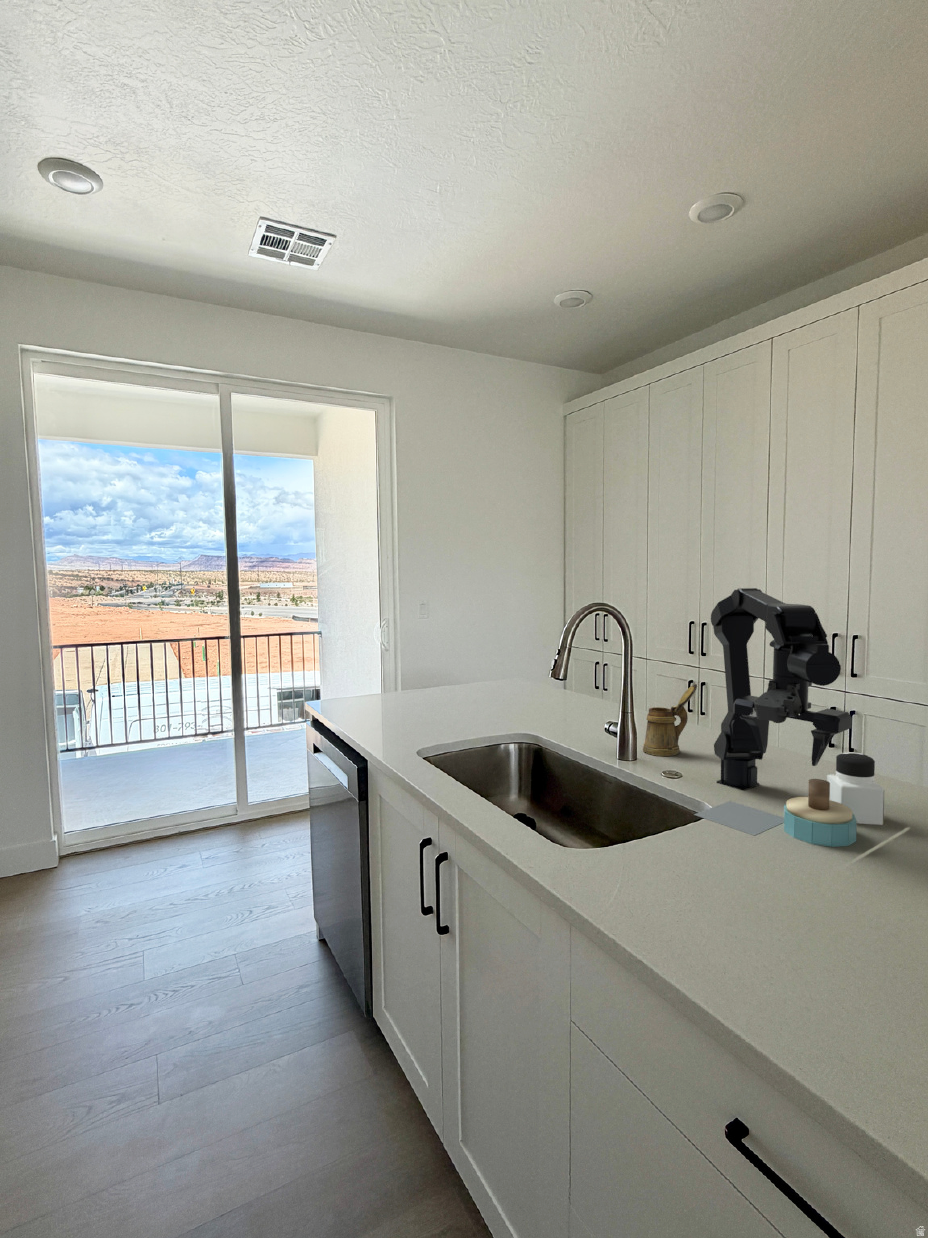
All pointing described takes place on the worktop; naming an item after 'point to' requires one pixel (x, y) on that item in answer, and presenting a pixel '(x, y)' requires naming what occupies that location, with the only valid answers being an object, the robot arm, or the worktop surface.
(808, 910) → the worktop surface
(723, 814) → the mat
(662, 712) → the wooden mug
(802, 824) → the bowl
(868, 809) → the medicine bottle
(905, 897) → the worktop surface
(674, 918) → the worktop surface
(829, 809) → the lid
